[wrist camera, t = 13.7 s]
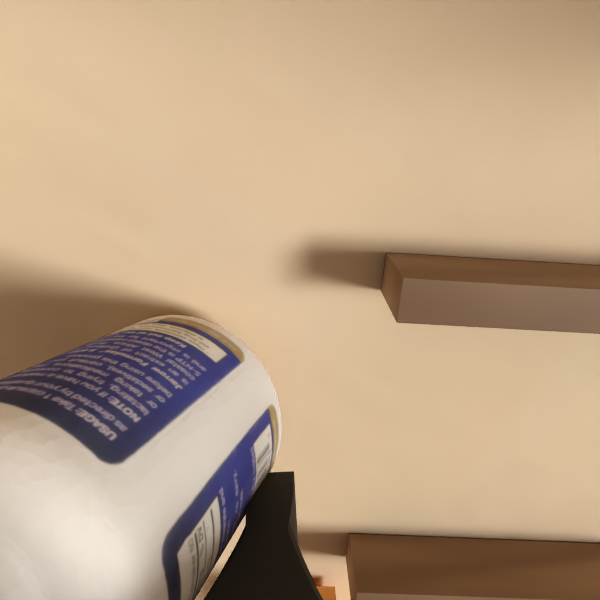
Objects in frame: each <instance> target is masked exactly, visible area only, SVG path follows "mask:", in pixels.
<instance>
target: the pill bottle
mask: <svg viewBox="0 0 600 600" xmlns="http://www.w3.org/2000/svg"><path fill="white" fill-rule="evenodd" d="M281 433H282V420H281V411H280V406H279V401H278V397H277V394H276V391H275V388H274V386H273V383H272V381H271V379H270V377H269V375H268V373H267V371H266V369H265V367H264V366H263V365H262V363H261V362H260V360H259V359H258V358H257V356H256V355H255V354H254V353H253V352H252V350H251V349H250V348H249V347H248V346H247V345H246V344H245V343H243V342H242V341H241V340H240V339H239V338H237V337H236V336H235V335H233V334H232V333H230V332H229V331H227V330H225V329H224V328H222V327H220V326H218V325H216V324H214V323H211V322H209V321H206V320H203V319H200V318H196V317H192V316H185V315H164V316H157V317H153V318H149V319H146V320H143V321H140V322H138V323H135V324H132V325H130V326H127V327H125V328H123V329H120V330H118V331H116V332H113V333H111V334H109V335H106V336H104V337H102V338H99V339H97V340H94V341H92V342H90V343H87V344H85V345H83V346H80V347H78V348H75V349H73V350H71V351H68V352H66V353H64V354H61V355H59V356H57V357H54V358H52V359H50V360H47V361H45V362H43V363H40V364H38V365H35V366H33V367H30V368H28V369H25V370H23V371H21V372H18V373H16V374H13V375H11V376H8V377H6V378H4V379H1V380H0V600H195V598H196V596H197V595H198V593H199V592H200V590H201V588H202V586H203V584H204V583H205V581H206V580H207V578H208V576H209V574H210V573H211V571H212V569H213V567H214V566H215V564H216V562H217V561H218V559H219V558H220V556H221V554H222V553H223V551H224V549H225V548H226V546H227V544H228V543H229V541H230V539H231V538H232V536H233V534H234V533H235V531H236V529H237V527H238V526H239V524H240V522H241V521H242V519H243V517H244V516H245V514H246V506H247V504H248V503H249V501H250V500H251V498H252V496H253V495H254V493H255V492H256V490H257V489H258V487H259V486H260V484H261V483H262V481H263V480H264V478H265V477H266V475H267V474H268V473H270V471H271V469H272V467H273V465H274V463H275V460H276V458H277V455H278V451H279V447H280V442H281Z"/></svg>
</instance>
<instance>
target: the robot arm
mask: <svg viewBox="0 0 600 600" xmlns="http://www.w3.org/2000/svg"><path fill="white" fill-rule="evenodd" d="M204 600H323V598H322V596H321V594H320V593H319V591H318V589H317V587H316V585H315V583H314V581H313V578H312V576H311V574H310V572H309V570H308V568H307V565H306V563H305V561H304V559H303V556H302V554H301V551H300V549H299V547H298V537H297V519H296V501H295V483H294V472H273V473H268V474H267V475H266V477H265V478H264V480H263V481H262V483H261V484H260V486H259V487H258V489H257V490H256V492H255V493H254V495H253V496H252V498H251V500H250V501H249V503H248V504H247V506H246V526H245V528H244V530H243V532H242V534H241V536H240V538H239V540H238V542H237V544H236V546H235V548H234V550H233V552H232V553H231V555H230V557H229V559H228V560H227V562H226V564H225V566H224V568H223V569H222V571H221V573H220V575H219V576H218V578H217V580H216V581H215V583H214V584H213V586H212V588H211V589H210V591H209V592H208V594H207V595H206V597H205V598H204Z"/></svg>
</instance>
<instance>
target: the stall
mask: <svg viewBox="0 0 600 600" xmlns="http://www.w3.org/2000/svg"><path fill="white" fill-rule="evenodd" d="M381 292H382V294H383V296H384V298H385V300H386V302H387V304H388V306H389V308H390V310H391V312H392V314H393V316H394V318H395V320H396V322H397V323H413V324H431V325H450V326H468V327H486V328H504V329H522V330H541V331H559V332H577V333H595V334H600V265H584V264H568V263H551V262H534V261H518V260H501V259H484V258H468V257H451V256H435V255H418V254H401V253H386V258H385V266H384V273H383V281H382V288H381ZM346 562H347V571H348V579H349V587H350V596H351V600H600V544H598V543H572V542H547V541H521V540H496V539H470V538H445V537H419V536H393V535H368V534H349V539H348V546H347V554H346Z"/></svg>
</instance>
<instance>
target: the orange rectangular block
mask: <svg viewBox="0 0 600 600" xmlns="http://www.w3.org/2000/svg"><path fill="white" fill-rule="evenodd" d="M316 587H317V589H318V591H319V593H320V594H321V596H322V598H323V600H336V595H335V587H327V586H316Z"/></svg>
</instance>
